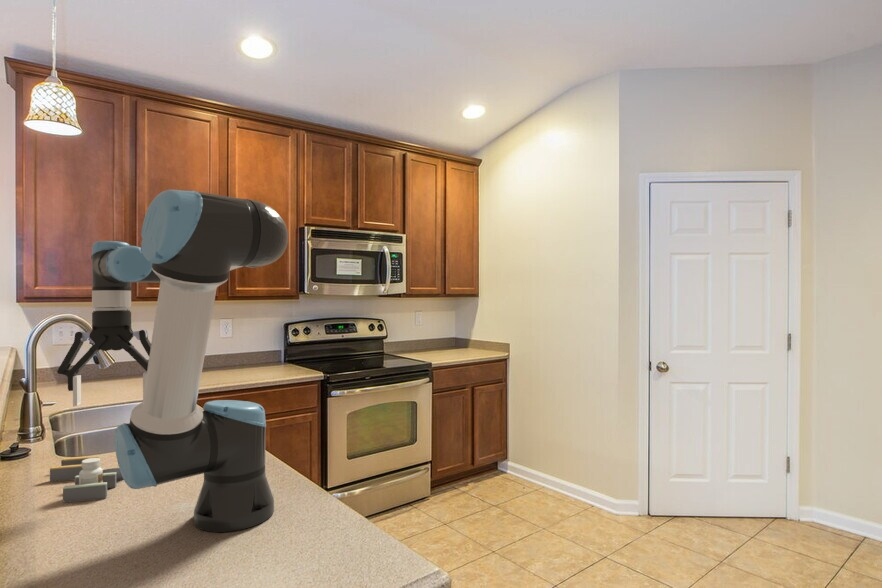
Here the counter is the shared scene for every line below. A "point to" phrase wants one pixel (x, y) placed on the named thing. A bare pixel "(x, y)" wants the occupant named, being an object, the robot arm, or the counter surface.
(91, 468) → the pill bottle
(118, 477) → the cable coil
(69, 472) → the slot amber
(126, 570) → the counter surface
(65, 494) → the slot sage
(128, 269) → the robot arm
